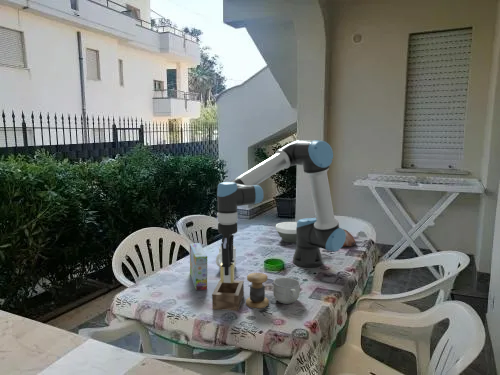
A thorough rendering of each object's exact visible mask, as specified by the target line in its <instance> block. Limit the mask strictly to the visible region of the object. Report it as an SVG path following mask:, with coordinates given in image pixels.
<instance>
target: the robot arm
mask: <svg viewBox="0 0 500 375" xmlns="http://www.w3.org/2000/svg"><path fill="white" fill-rule="evenodd" d="M333 151H334V150H333V149H332V147H331V145H330V144H329V143H328V142H327V141H325V140H320V139H298V140H294V141H291V142H290V143H288V144H286V145H284V146H282V147H281V148H278V149H277V150H276V151H275V153H274V154H273V155H272V156H270V157H269V158H267V159H265V160H264V161H262V162H260V163H259V164H256V165H255V166H254V167H252V168H250V169H249V170H246V171H245V172H244V173H242V174H240V175H239V176H237V177H236V178H234V179H232V180H231V181H223V182H219V184H217V191H216V192H217V193H216V197H217V213H216V216H217V222H218V223H217V232H218V233H219V234H221V235H223V236H222V238H221V244H220V246H221V247H222V265H221V267H223V270H224V283H231V266H230V263H231V262H234V260H232V259H233V246H234V237H235V236H234V234H237V232H238V207H241V206H250V205H256V204H260V203H261V202H262V201H263V200H264V190H263V188H262V187H261V186H260V185H259V184H261V183H263V182H264V181H265V180H267V179H269V178H270V177H272V176H273V175H275V174H277V173H278V172H280V171H282V170H283V169H284V170H285V169H289V168H290V167H292V166H302V168H303V172H304V174H306V175H308V176H307V177H308V182H309V187H310V193H311V199H312V204H313V209H314V214H315V217H305V218H300V219H298V220H297V221H296V222H297V227H296V238H297V242H296V245H295V246H296V248H295V251H294V253H293V256H292V263H293V264H294V265H295V266H298V267H303V268H315V267H316V268H317V267H320V266H322V265H323V257H322V253H321V249H323V250H326V251H328V252H338V251H339V250H340V249H342V248H343V247H342V246H343V244H344V242H345V239H346V233H345V231H344V230H345V229H344V228H342V227H340V224H339V220H338V219H336V218H335V213H334V206H333V202H332V195H331V189H330V183H329V179H328V178H329V177H328V171H329V169H330V165H331V164H332V163H333V159H334V152H333ZM343 229H344V230H343Z"/></svg>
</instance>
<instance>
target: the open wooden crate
mask: <svg viewBox="0 0 500 375" xmlns="http://www.w3.org/2000/svg"><path fill="white" fill-rule="evenodd" d="M244 282H245V281H244V280H234V282H233V283H220V279H219V281H218V282H217V283H216V284H217V285H216V287H215V288H214V290H213V292H212V294H211V301H212V302H211V303H212V307H211V309H212V310H219V311H233V312H234V311H237V312H239V310H240V308H241V307H240V306H241V304H242V301H243V298H244V293H245V292H244V291H245V290H244V288H245V287H244Z"/></svg>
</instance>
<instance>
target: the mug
mask: <svg viewBox="0 0 500 375" xmlns="http://www.w3.org/2000/svg"><path fill="white" fill-rule="evenodd" d="M236 250H237V248H236V246H235V245H233V259H232V260H234V262H231V263H234V269H235V268H236V266H237V261H236V260H237V252H236ZM215 263H216V265H217V267H218V268H220V265H221V263H222V247H221V245H220V246H219V247H218V253H217V256H216V259H215Z"/></svg>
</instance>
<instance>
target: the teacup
mask: <svg viewBox="0 0 500 375" xmlns="http://www.w3.org/2000/svg"><path fill="white" fill-rule="evenodd" d="M272 283H273V288H272V289H273V290H272V291H273V294H272V295H273V297H274V299H276V300H277V301H278V303H281V304H285V305H290V304H293V303H294V302H296V301H298V300H299V298H300V294H301V293H300V292H301V285H302V284H301V281H300V280H298V279H295V278H291V277H284V276H283V277H278V278H274V279H273V282H272Z"/></svg>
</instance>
